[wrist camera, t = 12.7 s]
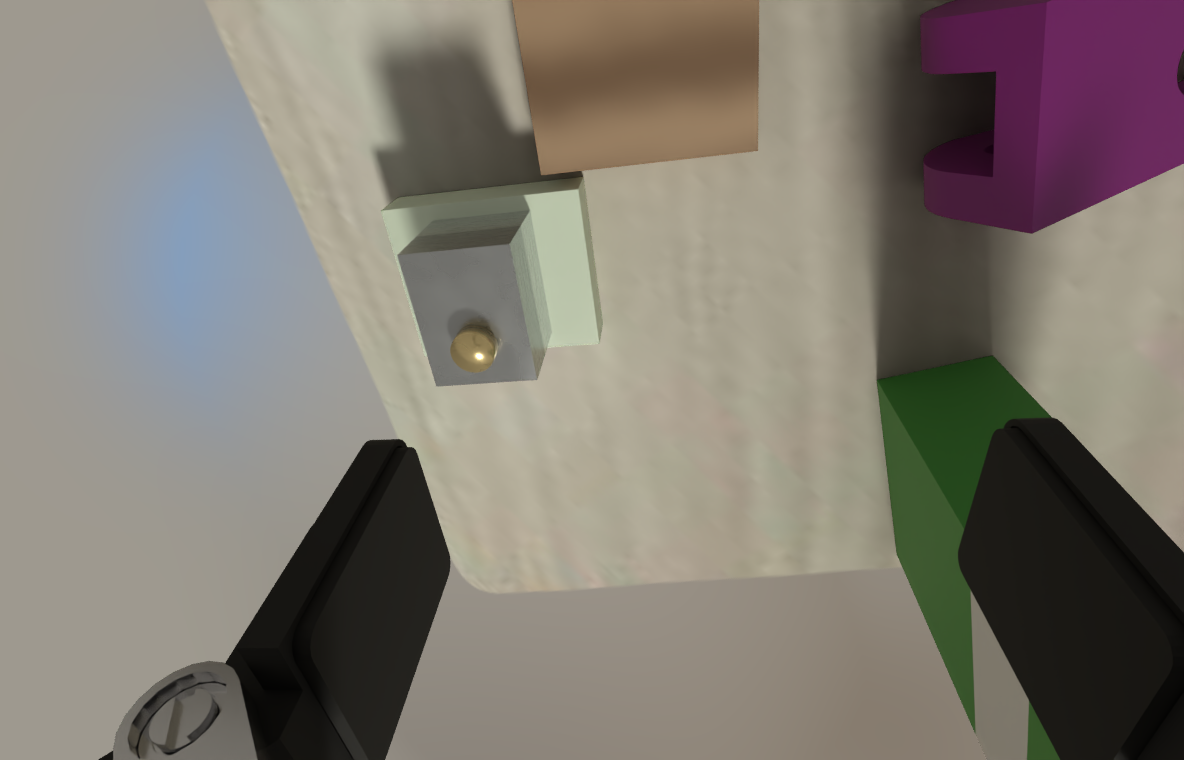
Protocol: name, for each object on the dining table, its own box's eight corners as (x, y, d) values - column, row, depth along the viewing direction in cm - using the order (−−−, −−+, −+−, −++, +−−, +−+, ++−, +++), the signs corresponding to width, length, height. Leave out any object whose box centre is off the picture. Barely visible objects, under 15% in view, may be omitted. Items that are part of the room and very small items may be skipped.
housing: (432, 220, 37) (390, 261, 31) (530, 210, 36) (505, 250, 30) (463, 338, 41) (431, 395, 35) (552, 332, 40) (534, 389, 34)
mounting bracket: (1150, -72, 34) (883, 25, 31) (1366, -119, 27) (1047, 0, 24) (1126, 107, 39) (891, 207, 36) (1305, 108, 31) (1031, 233, 28)
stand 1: (398, 197, 40) (380, 210, 37) (583, 176, 38) (578, 189, 35) (438, 336, 45) (424, 356, 42) (602, 323, 43) (599, 343, 40)
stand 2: (518, -32, 33) (506, -35, 30) (751, -70, 31) (759, -76, 28) (548, 163, 38) (541, 175, 35) (750, 140, 36) (757, 150, 34)
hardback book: (993, 539, 50) (1227, 909, 30) (896, 554, 52) (1053, 913, 31) (992, 355, 42) (1315, 692, 21) (876, 380, 43) (1072, 713, 23)
